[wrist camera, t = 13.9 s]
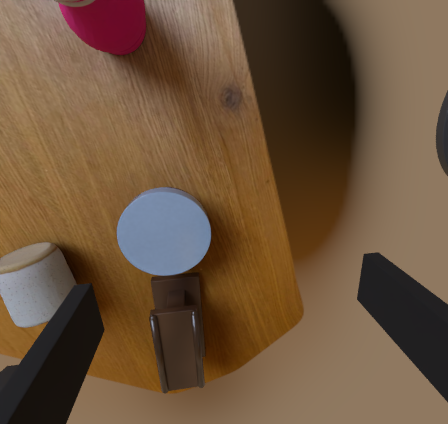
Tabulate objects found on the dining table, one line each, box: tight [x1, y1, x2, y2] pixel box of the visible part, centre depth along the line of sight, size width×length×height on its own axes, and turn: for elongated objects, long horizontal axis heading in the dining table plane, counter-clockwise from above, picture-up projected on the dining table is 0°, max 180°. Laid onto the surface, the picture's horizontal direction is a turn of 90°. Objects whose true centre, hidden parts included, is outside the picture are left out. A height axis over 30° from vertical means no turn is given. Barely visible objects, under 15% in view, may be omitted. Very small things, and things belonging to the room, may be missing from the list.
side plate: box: [117, 187, 211, 276], centre depth 32 cm, size 11×11×2 cm
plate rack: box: [149, 272, 206, 393], centre depth 39 cm, size 7×16×8 cm, turn 2°
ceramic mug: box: [0, 242, 77, 327], centre depth 33 cm, size 11×8×8 cm
